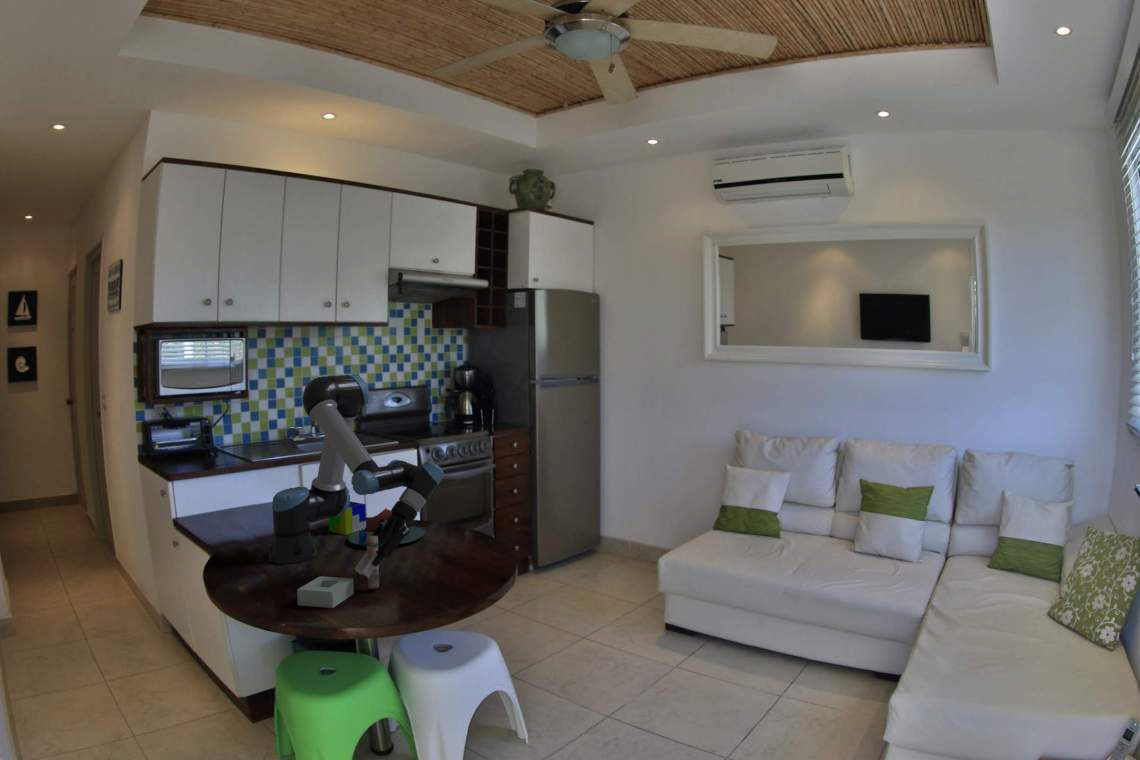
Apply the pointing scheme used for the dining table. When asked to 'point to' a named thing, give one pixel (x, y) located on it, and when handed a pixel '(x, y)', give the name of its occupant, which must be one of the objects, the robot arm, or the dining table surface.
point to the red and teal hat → (362, 535)
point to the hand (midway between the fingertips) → (361, 573)
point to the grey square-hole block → (325, 592)
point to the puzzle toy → (349, 519)
